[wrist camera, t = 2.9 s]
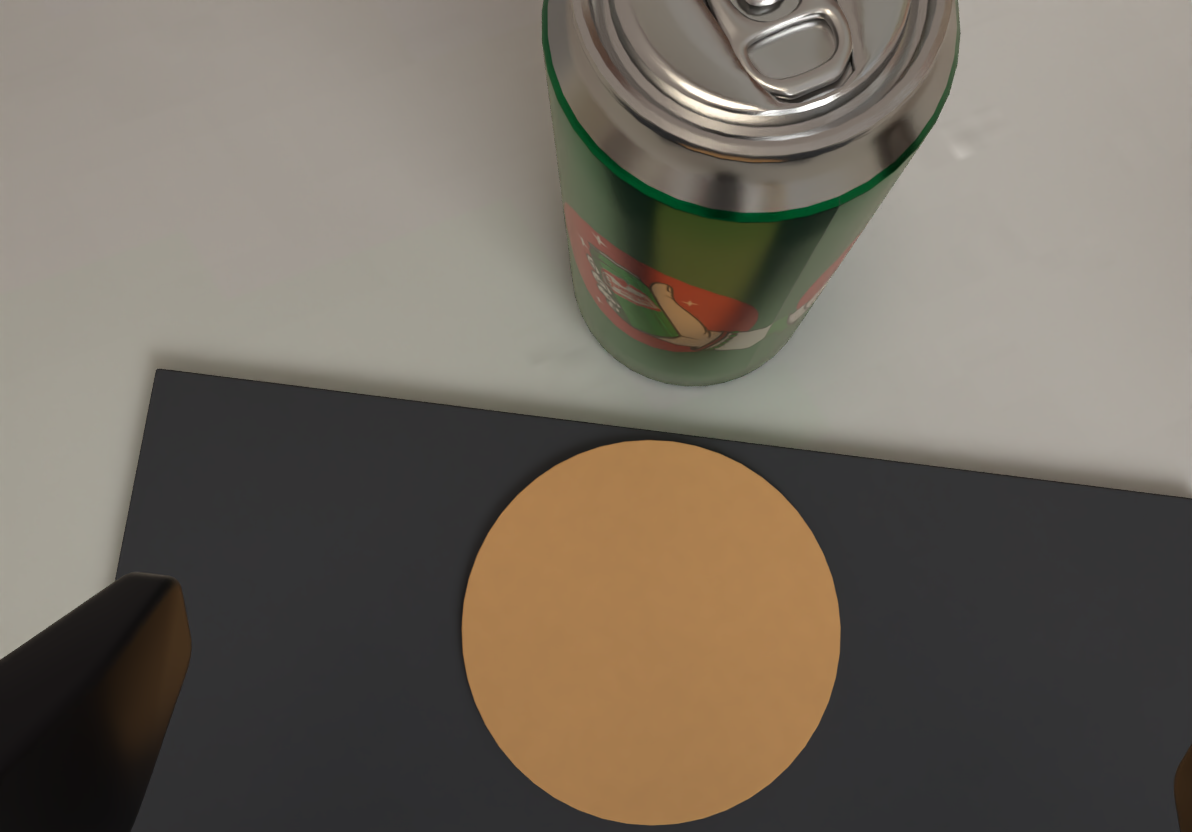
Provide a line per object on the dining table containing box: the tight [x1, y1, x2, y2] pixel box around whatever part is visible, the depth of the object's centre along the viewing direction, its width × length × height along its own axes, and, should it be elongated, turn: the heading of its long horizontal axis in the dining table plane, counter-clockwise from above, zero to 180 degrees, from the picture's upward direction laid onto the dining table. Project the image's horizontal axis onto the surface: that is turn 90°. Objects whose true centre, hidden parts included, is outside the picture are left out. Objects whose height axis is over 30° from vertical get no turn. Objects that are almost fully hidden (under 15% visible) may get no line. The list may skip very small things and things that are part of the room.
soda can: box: [542, 0, 960, 386], centre depth 18 cm, size 5×5×12 cm
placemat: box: [115, 369, 1192, 832], centre depth 23 cm, size 13×22×1 cm, turn 83°
